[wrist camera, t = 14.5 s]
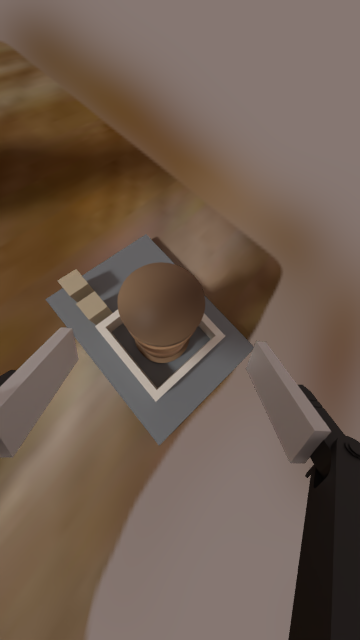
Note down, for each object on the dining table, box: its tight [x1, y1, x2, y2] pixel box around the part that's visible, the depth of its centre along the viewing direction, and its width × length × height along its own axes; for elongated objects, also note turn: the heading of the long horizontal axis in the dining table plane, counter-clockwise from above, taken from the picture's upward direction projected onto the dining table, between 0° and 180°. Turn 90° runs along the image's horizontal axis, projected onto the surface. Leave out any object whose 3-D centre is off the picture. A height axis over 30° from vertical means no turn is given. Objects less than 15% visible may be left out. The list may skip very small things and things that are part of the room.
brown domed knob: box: [117, 262, 205, 363], centre depth 18 cm, size 7×7×12 cm
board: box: [46, 235, 254, 445], centre depth 23 cm, size 22×16×4 cm
